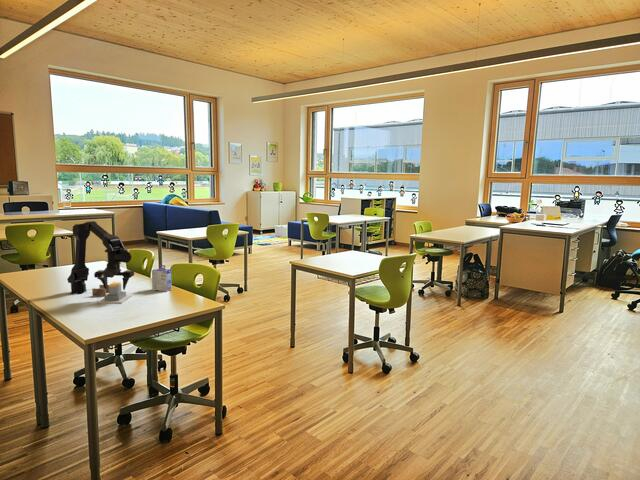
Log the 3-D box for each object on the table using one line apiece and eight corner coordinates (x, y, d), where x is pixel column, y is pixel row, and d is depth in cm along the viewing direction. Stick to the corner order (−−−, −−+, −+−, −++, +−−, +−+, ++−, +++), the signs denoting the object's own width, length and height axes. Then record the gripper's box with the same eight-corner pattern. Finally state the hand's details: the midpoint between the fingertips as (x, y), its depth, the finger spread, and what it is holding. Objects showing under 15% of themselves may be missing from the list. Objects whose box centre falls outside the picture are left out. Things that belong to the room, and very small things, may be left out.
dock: (98, 303, 228) (97, 297, 228) (110, 296, 242) (109, 290, 242) (121, 303, 229) (121, 297, 228) (132, 296, 243) (131, 290, 242)
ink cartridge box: (172, 289, 259) (171, 265, 257) (167, 291, 253) (166, 267, 251) (157, 288, 261) (156, 264, 259) (151, 290, 255) (150, 266, 253)
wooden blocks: (92, 296, 242) (92, 289, 242) (100, 291, 252) (100, 284, 251) (105, 296, 242) (105, 289, 242) (113, 291, 252) (112, 284, 251)
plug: (109, 299, 232) (108, 285, 231) (114, 296, 238) (113, 282, 237) (117, 299, 233) (116, 285, 231) (121, 296, 239) (120, 282, 237)
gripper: (88, 263, 224) (90, 293, 226) (125, 263, 225) (127, 293, 227) (98, 259, 235) (100, 288, 237) (133, 259, 236) (135, 288, 238)
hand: (115, 289), depth 235 cm, fingers open, 9 cm apart
